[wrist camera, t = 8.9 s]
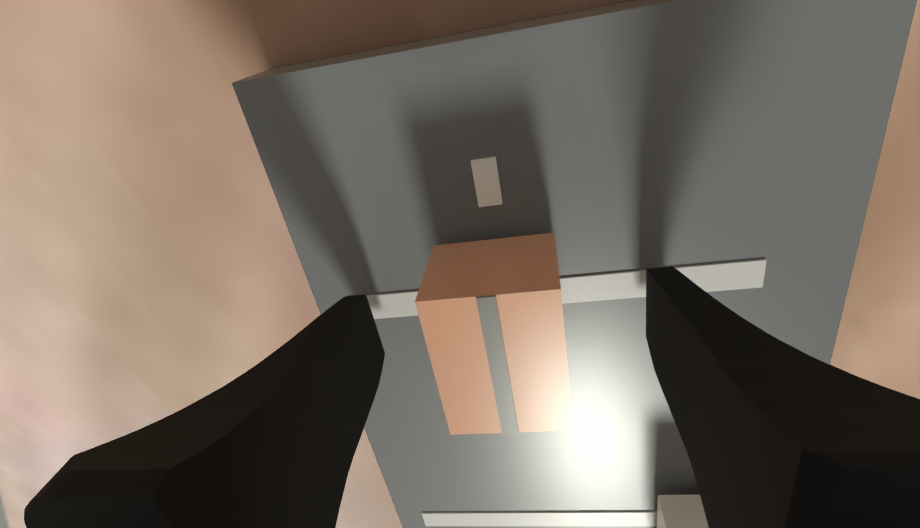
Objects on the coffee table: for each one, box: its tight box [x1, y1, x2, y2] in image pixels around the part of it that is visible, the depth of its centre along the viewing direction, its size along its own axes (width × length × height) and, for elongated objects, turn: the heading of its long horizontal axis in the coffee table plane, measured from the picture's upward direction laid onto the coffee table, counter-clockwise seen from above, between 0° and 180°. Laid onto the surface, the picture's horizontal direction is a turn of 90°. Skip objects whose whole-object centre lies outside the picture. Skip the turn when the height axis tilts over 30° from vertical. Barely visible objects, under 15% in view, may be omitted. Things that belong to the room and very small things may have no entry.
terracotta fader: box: [415, 233, 574, 435], centre depth 12 cm, size 3×4×3 cm
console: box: [232, 0, 917, 528], centre depth 16 cm, size 14×21×2 cm, turn 10°
